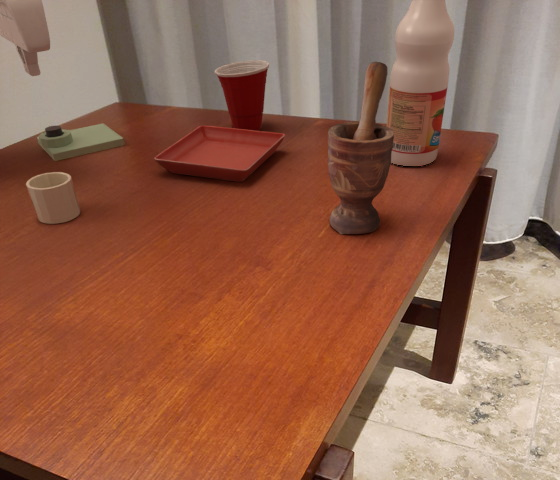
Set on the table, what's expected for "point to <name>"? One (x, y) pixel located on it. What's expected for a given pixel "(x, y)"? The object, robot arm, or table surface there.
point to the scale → (80, 141)
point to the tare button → (53, 131)
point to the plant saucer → (220, 152)
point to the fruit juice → (419, 82)
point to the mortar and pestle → (360, 160)
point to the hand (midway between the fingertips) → (33, 74)
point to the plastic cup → (244, 92)
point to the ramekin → (53, 197)
